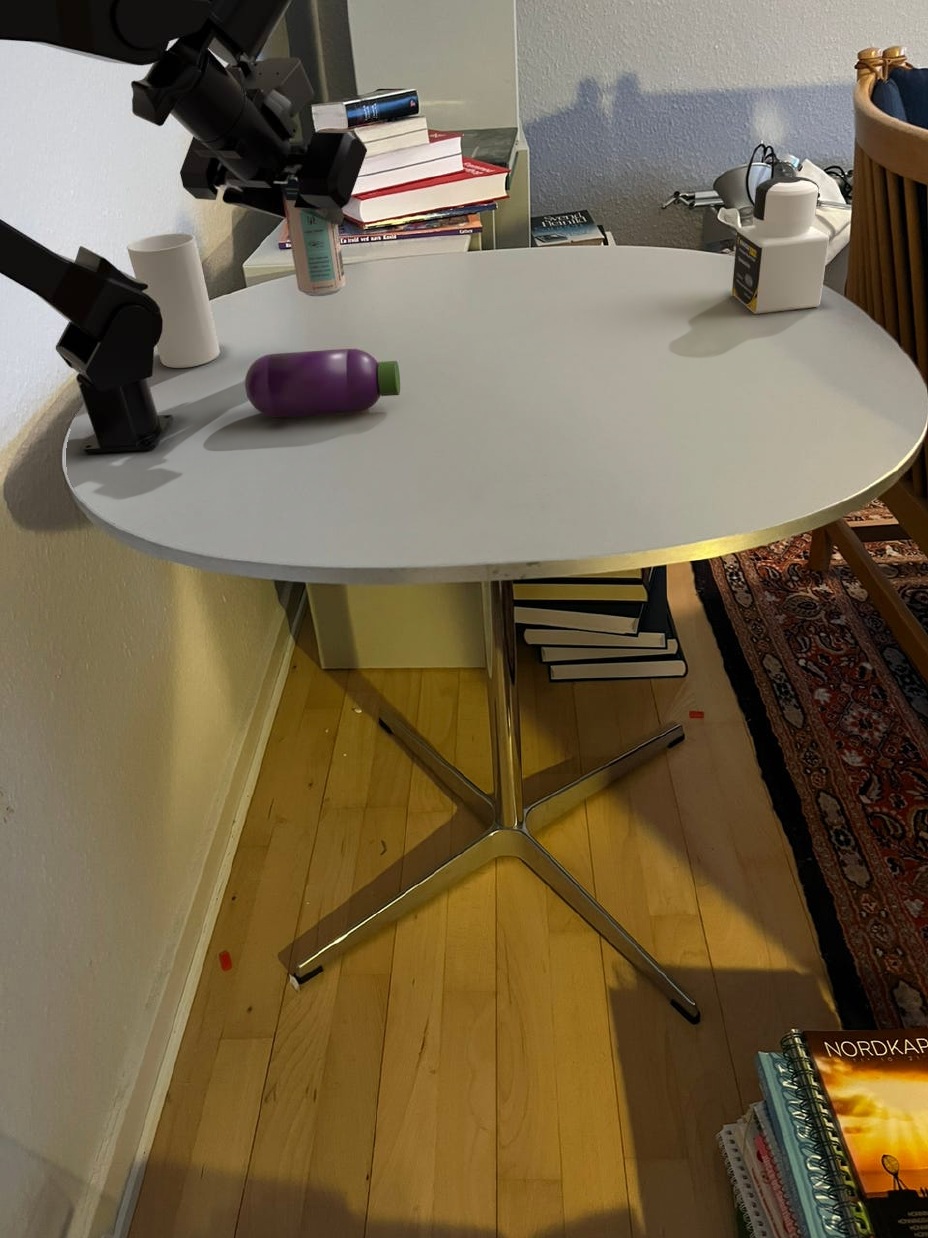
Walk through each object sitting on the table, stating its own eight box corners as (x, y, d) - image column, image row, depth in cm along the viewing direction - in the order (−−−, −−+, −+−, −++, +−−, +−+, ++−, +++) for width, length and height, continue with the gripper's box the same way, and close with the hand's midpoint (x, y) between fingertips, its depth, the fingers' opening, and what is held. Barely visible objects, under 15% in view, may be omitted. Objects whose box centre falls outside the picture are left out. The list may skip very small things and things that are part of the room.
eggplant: (259, 404, 90) (246, 346, 86) (404, 395, 89) (396, 336, 85) (246, 429, 85) (232, 369, 82) (398, 420, 84) (390, 359, 81)
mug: (218, 365, 99) (189, 246, 92) (154, 372, 99) (120, 254, 92) (229, 333, 107) (203, 222, 100) (170, 340, 107) (140, 229, 100)
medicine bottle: (730, 294, 104) (740, 176, 97) (793, 287, 104) (808, 169, 97) (753, 315, 98) (766, 191, 91) (820, 307, 98) (838, 183, 91)
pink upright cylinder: (326, 281, 98) (307, 154, 91) (355, 288, 95) (338, 158, 88) (289, 293, 96) (267, 164, 89) (318, 301, 93) (297, 168, 86)
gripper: (337, 19, 75) (426, 146, 89) (171, 27, 84) (276, 142, 97) (290, 147, 74) (388, 255, 88) (128, 142, 83) (240, 241, 97)
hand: (321, 219), depth 93 cm, fingers closed on pink upright cylinder, 5 cm apart
